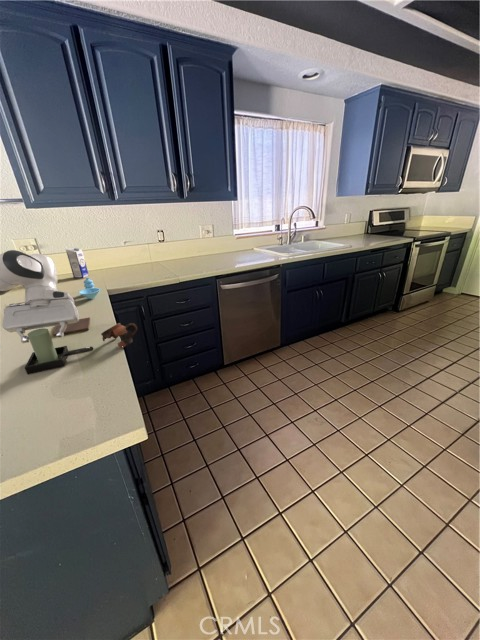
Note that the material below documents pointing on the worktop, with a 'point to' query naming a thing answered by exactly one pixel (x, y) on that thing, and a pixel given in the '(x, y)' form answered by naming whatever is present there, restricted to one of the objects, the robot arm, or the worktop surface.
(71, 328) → the board
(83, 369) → the worktop surface
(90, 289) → the blue conch shell
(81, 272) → the milk carton
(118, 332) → the brown irregular piece
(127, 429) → the worktop surface
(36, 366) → the pan
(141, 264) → the worktop surface
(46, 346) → the pale green cylinder
